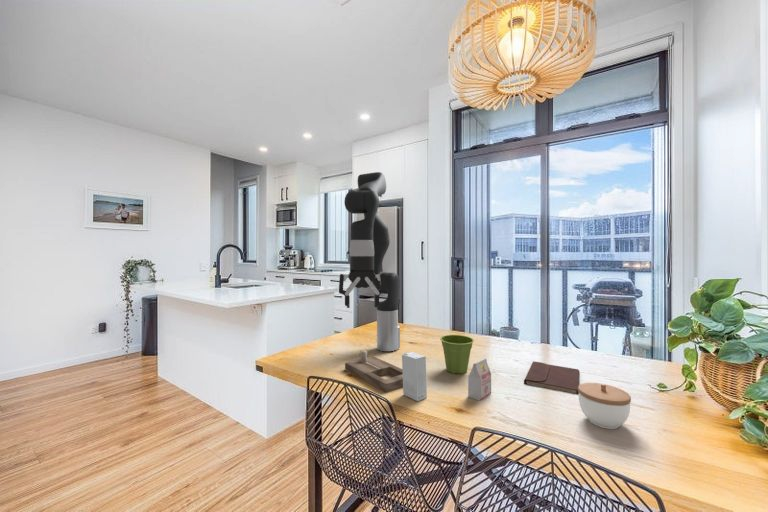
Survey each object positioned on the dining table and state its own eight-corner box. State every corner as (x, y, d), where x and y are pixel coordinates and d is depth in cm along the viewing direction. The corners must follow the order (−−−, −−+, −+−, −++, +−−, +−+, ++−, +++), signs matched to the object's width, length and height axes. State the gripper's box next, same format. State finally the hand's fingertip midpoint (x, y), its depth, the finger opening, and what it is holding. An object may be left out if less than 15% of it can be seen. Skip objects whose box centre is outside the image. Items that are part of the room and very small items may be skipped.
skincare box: (427, 397, 93) (427, 355, 93) (416, 402, 90) (416, 359, 90) (412, 390, 98) (412, 350, 98) (401, 394, 95) (401, 353, 95)
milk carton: (468, 396, 94) (468, 362, 94) (479, 389, 99) (479, 356, 99) (479, 400, 91) (479, 365, 91) (491, 393, 96) (491, 359, 96)
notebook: (579, 374, 112) (579, 368, 112) (578, 395, 95) (578, 388, 95) (532, 366, 120) (532, 360, 120) (523, 384, 103) (523, 378, 103)
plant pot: (435, 373, 112) (435, 340, 112) (445, 362, 123) (445, 333, 122) (469, 379, 107) (469, 345, 106) (477, 367, 117) (477, 336, 117)
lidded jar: (608, 411, 85) (608, 375, 85) (642, 434, 74) (642, 393, 74) (568, 412, 85) (568, 376, 84) (597, 435, 74) (597, 394, 74)
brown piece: (372, 362, 123) (372, 346, 123) (415, 382, 104) (415, 364, 104) (345, 369, 116) (345, 352, 116) (386, 392, 97) (385, 372, 97)
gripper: (382, 255, 105) (382, 304, 105) (338, 255, 103) (338, 305, 103) (386, 255, 98) (386, 308, 98) (339, 255, 95) (338, 309, 95)
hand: (361, 307), depth 100 cm, fingers open, 8 cm apart
